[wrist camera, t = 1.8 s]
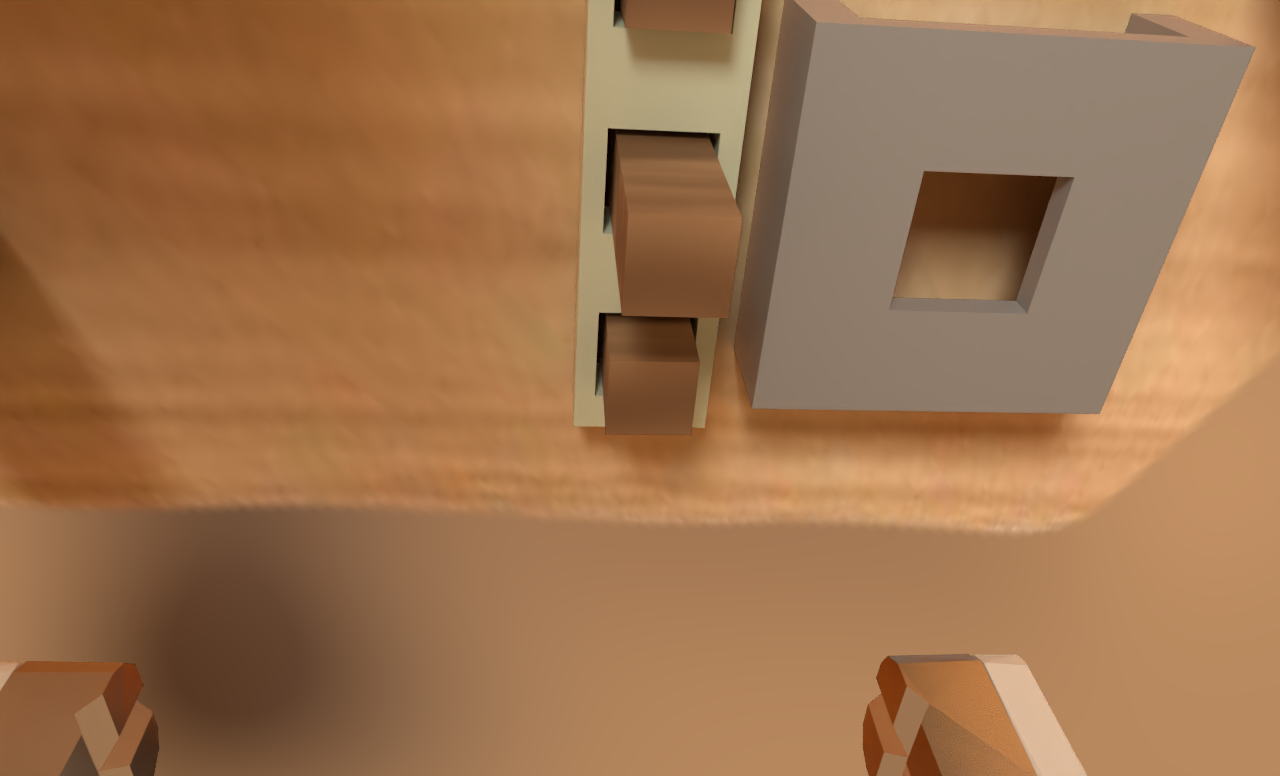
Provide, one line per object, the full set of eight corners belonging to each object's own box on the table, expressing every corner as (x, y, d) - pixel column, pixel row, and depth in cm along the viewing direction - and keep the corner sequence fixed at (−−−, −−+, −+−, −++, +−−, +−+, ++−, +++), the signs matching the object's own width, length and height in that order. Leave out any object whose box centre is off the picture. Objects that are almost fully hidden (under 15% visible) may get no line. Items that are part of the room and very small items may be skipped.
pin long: (612, 114, 33) (628, 214, 25) (701, 118, 33) (742, 218, 25) (608, 198, 34) (621, 315, 27) (692, 201, 35) (728, 318, 27)
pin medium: (604, 288, 36) (610, 360, 32) (683, 290, 37) (700, 362, 32) (600, 356, 38) (605, 434, 34) (675, 357, 39) (691, 435, 34)
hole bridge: (785, -8, 31) (816, 22, 27) (1174, 16, 32) (1255, 47, 28) (733, 347, 38) (752, 408, 35) (1049, 354, 40) (1099, 413, 36)
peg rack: (592, -177, 28) (594, -173, 26) (766, -163, 28) (782, -158, 26) (572, 391, 39) (573, 426, 37) (697, 393, 40) (704, 427, 38)
